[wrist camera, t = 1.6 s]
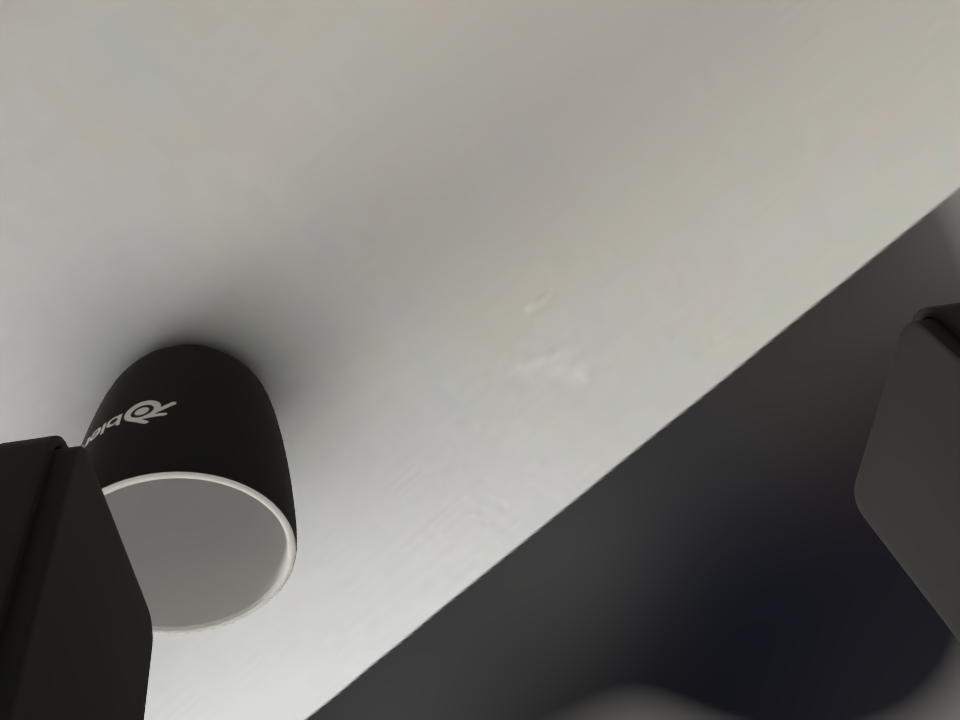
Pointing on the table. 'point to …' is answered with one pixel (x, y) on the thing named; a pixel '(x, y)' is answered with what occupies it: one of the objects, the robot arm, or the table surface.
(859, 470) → the robot arm
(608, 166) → the table surface
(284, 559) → the mug
